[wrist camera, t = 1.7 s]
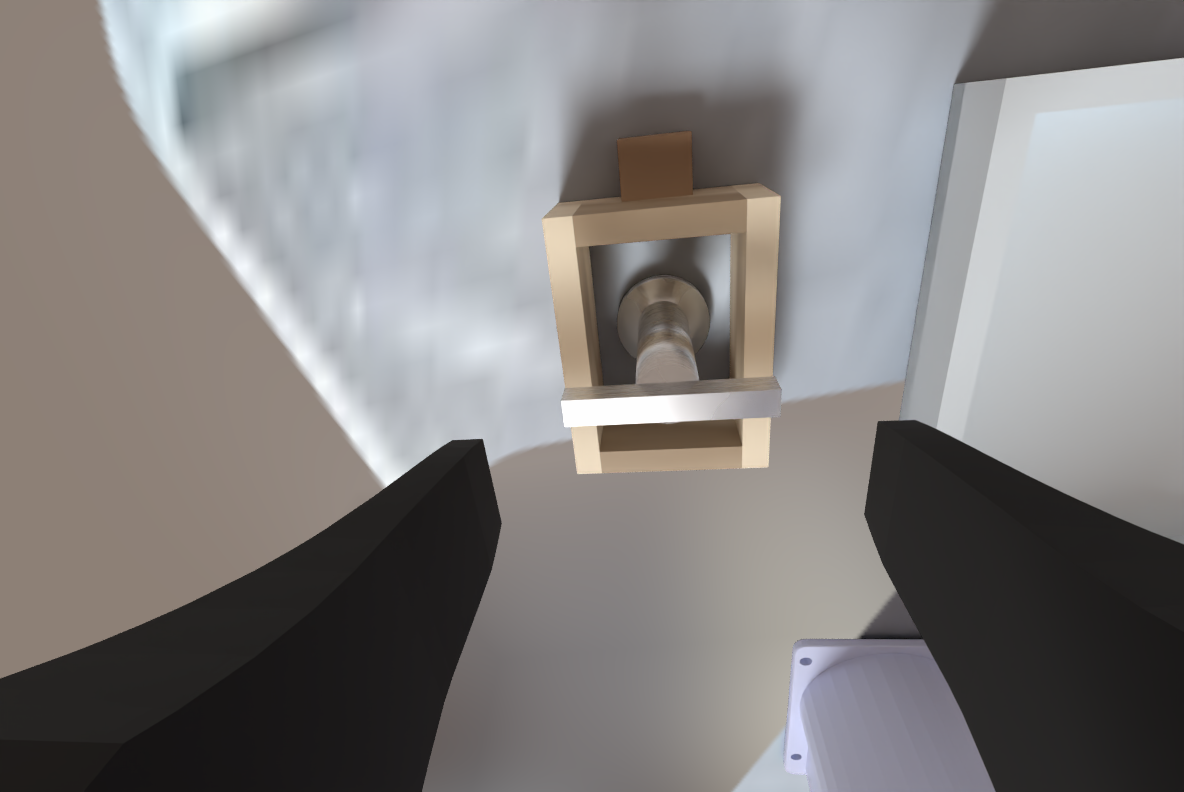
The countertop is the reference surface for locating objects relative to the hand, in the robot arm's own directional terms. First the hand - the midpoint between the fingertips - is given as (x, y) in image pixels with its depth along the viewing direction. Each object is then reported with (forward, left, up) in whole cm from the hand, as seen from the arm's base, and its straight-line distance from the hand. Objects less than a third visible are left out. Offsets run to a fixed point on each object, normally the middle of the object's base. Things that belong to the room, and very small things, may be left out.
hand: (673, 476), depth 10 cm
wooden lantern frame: (0, 0, -9) cm, 9 cm away
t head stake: (0, 0, -9) cm, 9 cm away
